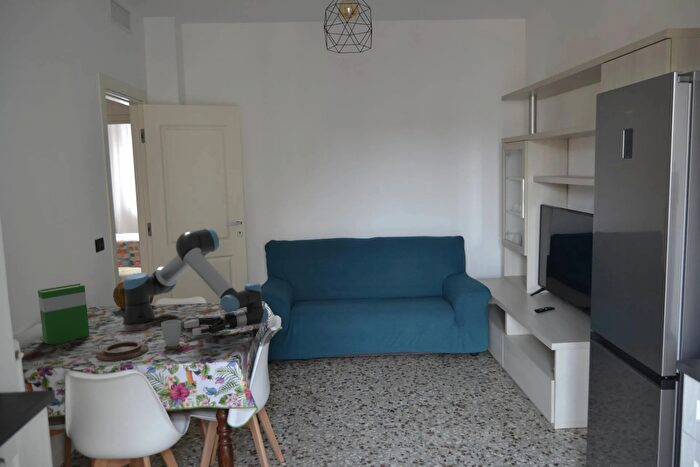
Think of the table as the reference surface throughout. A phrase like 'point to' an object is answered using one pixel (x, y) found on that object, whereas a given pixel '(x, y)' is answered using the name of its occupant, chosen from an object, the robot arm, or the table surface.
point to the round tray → (116, 358)
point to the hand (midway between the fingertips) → (188, 328)
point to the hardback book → (63, 313)
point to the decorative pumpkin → (122, 296)
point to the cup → (171, 332)
